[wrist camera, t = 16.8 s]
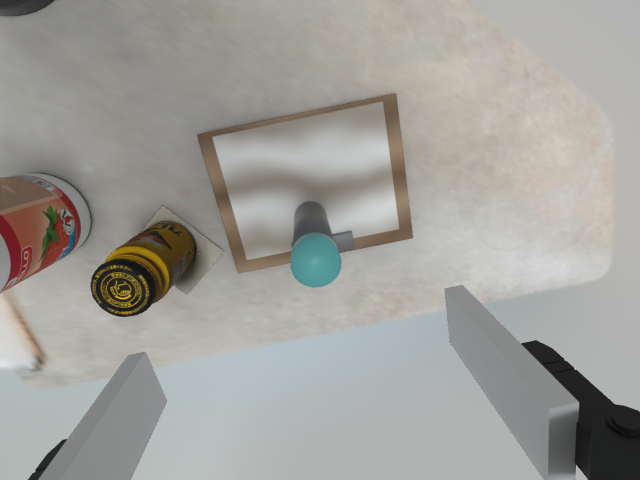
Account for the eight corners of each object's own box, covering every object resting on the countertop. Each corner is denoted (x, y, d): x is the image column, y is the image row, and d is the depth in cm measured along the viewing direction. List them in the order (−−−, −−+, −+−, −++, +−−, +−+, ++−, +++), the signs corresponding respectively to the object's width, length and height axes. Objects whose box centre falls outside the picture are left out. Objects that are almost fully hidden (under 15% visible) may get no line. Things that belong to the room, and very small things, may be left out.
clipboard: (199, 134, 37) (193, 135, 35) (394, 94, 37) (398, 92, 35) (239, 270, 42) (236, 277, 41) (410, 235, 42) (415, 241, 40)
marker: (291, 202, 39) (287, 243, 26) (325, 198, 39) (339, 237, 26) (295, 234, 40) (293, 289, 27) (328, 231, 40) (343, 284, 27)
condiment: (162, 204, 39) (107, 237, 28) (224, 250, 42) (195, 298, 30) (126, 251, 41) (59, 300, 30) (187, 293, 43) (147, 354, 32)
